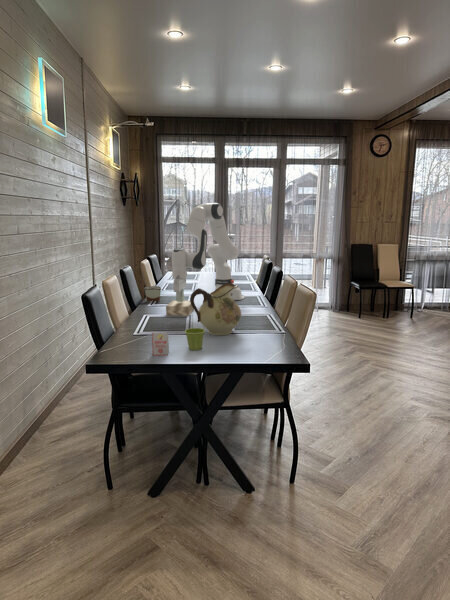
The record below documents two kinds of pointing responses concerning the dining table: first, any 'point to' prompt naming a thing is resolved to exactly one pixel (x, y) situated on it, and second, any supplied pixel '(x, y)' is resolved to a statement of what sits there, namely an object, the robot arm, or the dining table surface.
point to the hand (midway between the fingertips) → (180, 296)
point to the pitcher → (218, 310)
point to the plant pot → (195, 338)
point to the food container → (152, 293)
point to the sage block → (180, 297)
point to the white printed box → (160, 344)
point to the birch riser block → (179, 308)
